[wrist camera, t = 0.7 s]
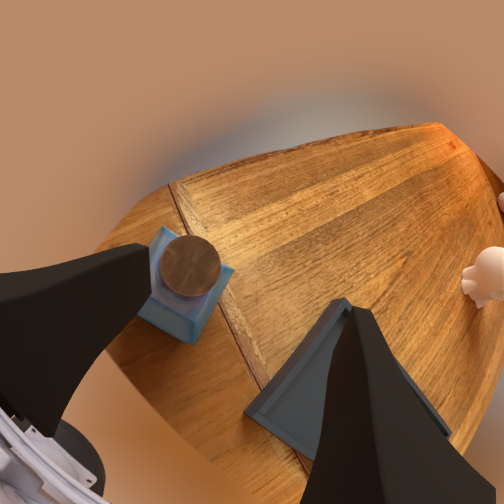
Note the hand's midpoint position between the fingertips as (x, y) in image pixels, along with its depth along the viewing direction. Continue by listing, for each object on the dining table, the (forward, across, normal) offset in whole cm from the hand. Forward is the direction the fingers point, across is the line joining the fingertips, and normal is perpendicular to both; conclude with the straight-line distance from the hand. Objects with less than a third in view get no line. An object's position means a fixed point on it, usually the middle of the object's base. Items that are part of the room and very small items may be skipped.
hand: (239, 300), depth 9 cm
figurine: (+44, -38, +15) cm, 59 cm away
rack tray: (+12, -17, +26) cm, 33 cm away
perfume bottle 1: (+10, +9, +10) cm, 17 cm away
